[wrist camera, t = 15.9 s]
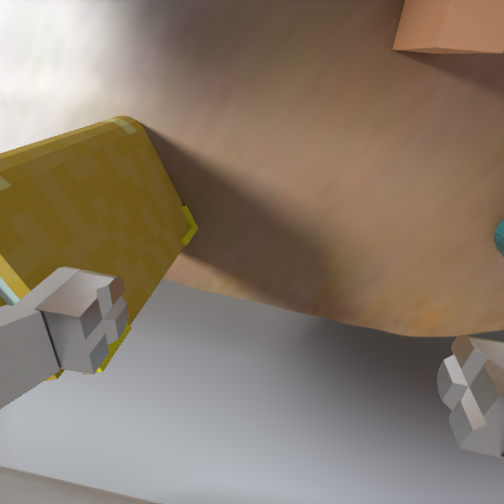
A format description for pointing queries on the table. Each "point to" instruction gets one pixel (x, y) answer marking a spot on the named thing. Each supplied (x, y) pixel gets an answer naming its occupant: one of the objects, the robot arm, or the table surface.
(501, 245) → the beverage bottle
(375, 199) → the table surface
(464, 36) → the block
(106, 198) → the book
